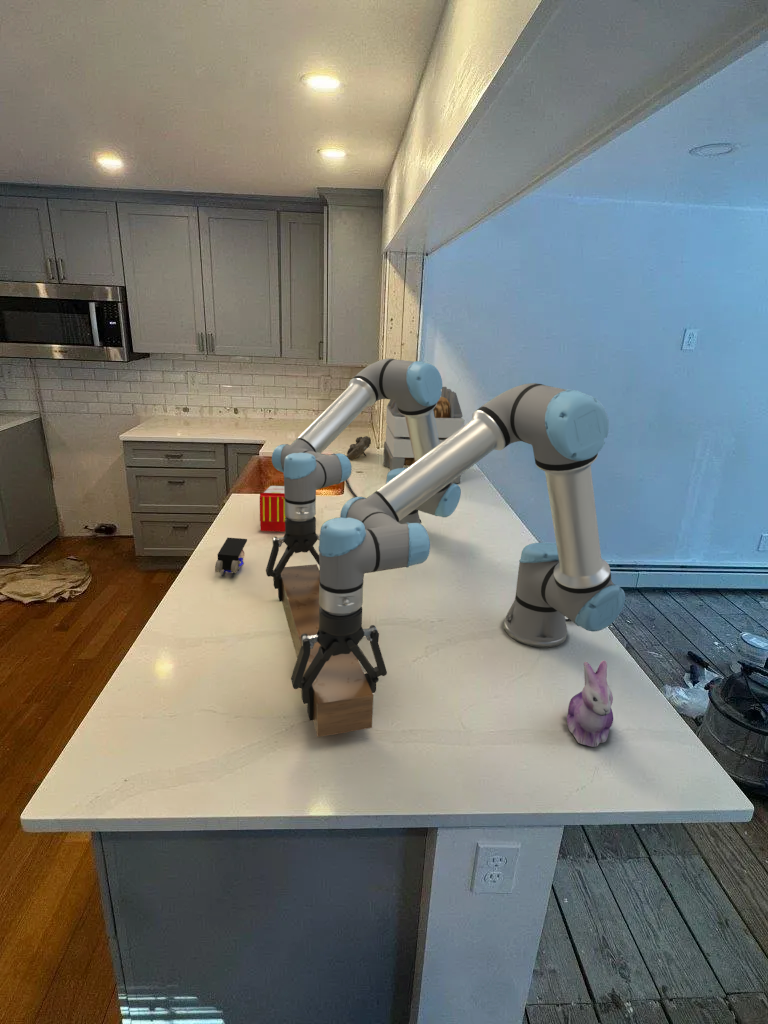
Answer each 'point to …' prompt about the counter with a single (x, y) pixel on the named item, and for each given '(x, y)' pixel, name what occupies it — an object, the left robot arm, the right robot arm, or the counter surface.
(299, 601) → the wide beam
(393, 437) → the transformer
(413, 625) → the counter surface
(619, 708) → the counter surface
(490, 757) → the counter surface
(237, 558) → the figurine character
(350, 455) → the fossil
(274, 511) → the toy
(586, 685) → the figurine
